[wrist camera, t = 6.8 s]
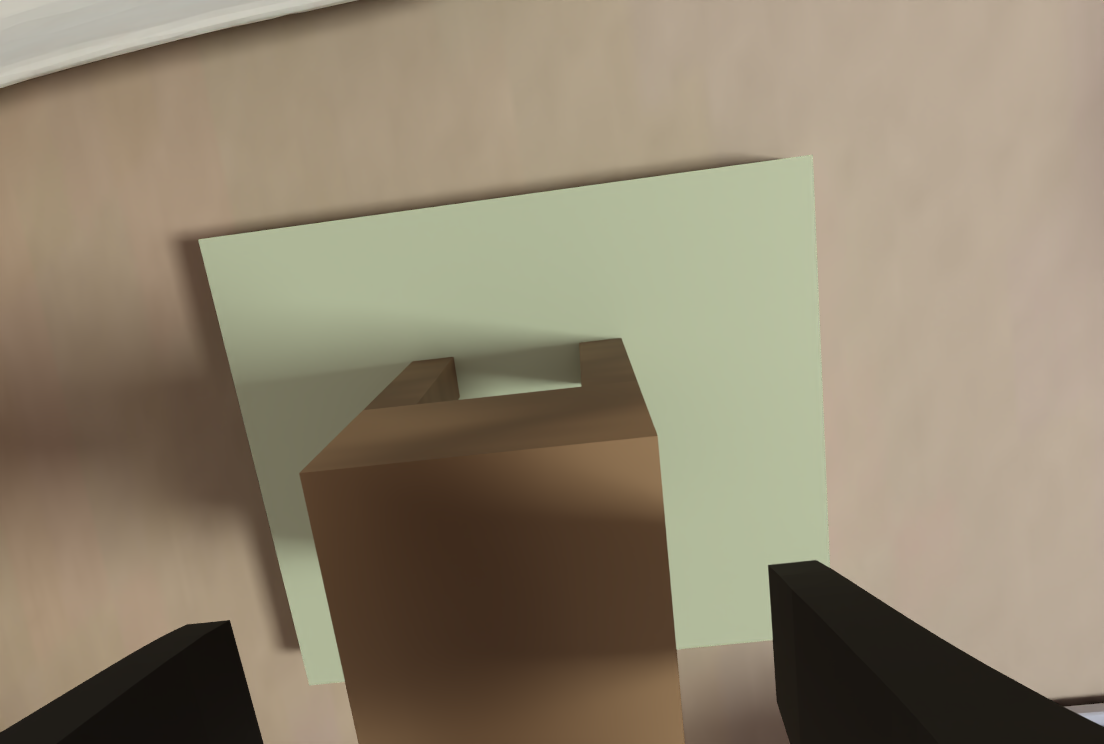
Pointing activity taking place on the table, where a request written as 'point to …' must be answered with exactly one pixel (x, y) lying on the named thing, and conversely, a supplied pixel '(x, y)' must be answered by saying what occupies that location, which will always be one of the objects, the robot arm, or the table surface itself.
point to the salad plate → (116, 28)
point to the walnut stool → (500, 562)
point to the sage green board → (559, 356)
